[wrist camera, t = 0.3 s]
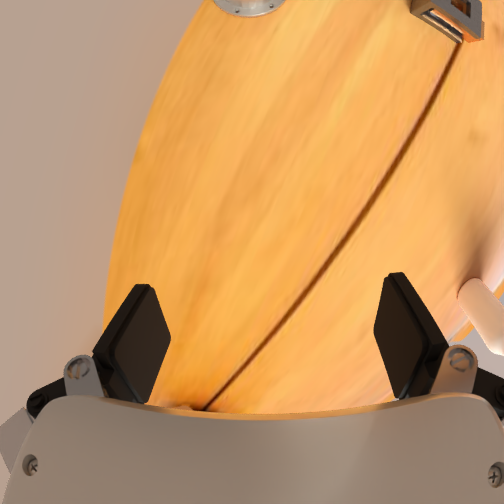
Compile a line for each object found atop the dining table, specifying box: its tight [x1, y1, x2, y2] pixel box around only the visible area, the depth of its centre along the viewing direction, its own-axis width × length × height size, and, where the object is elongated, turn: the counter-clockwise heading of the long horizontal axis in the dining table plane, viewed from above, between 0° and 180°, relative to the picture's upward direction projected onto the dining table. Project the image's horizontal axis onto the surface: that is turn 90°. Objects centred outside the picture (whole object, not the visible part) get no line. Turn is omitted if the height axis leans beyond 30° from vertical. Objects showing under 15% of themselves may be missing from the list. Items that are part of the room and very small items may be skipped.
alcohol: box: [458, 278, 504, 356], centre depth 39 cm, size 9×9×30 cm
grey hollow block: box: [410, 0, 484, 43], centre depth 21 cm, size 14×10×8 cm
